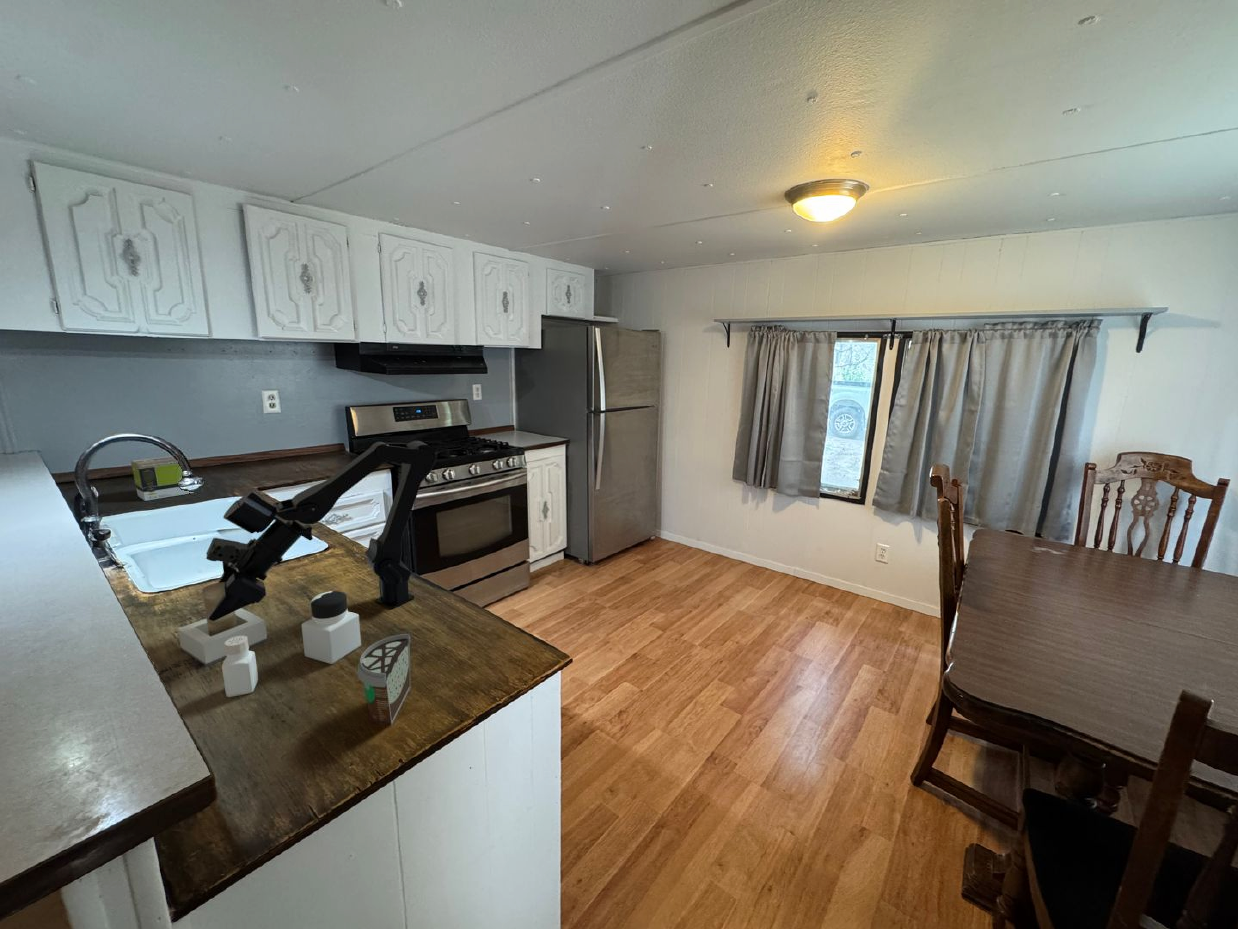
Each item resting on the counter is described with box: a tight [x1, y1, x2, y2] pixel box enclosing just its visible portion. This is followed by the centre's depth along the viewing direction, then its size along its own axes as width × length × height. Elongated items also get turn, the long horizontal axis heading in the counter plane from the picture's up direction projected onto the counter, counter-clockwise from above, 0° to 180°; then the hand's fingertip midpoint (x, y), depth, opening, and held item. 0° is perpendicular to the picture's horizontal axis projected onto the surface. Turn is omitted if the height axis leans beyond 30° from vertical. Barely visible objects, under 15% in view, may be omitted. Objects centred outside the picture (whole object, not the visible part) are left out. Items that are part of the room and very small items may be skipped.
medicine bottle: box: [301, 590, 362, 665], centre depth 98 cm, size 7×7×12 cm
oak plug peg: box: [201, 582, 237, 636], centre depth 98 cm, size 4×4×12 cm
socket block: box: [177, 607, 268, 667], centre depth 99 cm, size 10×10×4 cm
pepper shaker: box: [221, 636, 259, 698], centre depth 86 cm, size 4×4×10 cm
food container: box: [356, 633, 412, 726], centre depth 83 cm, size 12×6×10 cm, turn 5°
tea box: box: [130, 455, 194, 501], centre depth 195 cm, size 15×10×15 cm, turn 144°
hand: (210, 610), depth 97 cm, fingers open, 9 cm apart
